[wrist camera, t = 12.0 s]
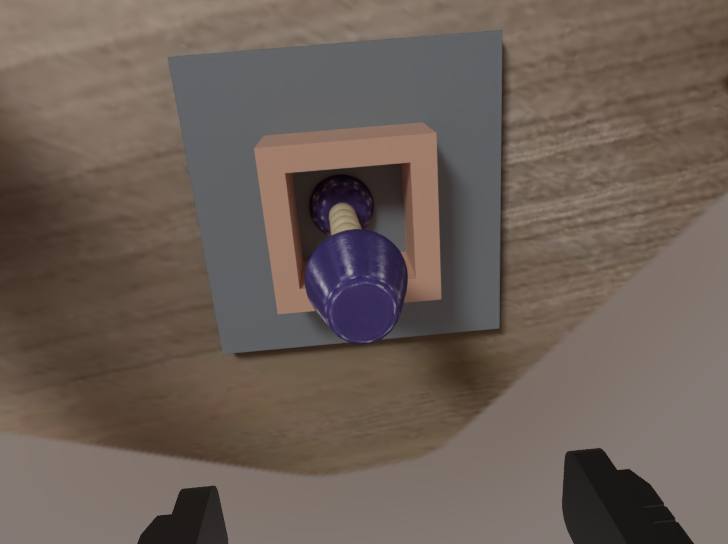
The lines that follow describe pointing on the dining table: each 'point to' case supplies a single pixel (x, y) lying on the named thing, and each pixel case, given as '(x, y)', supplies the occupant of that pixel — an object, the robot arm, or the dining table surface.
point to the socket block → (346, 157)
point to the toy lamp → (353, 264)
